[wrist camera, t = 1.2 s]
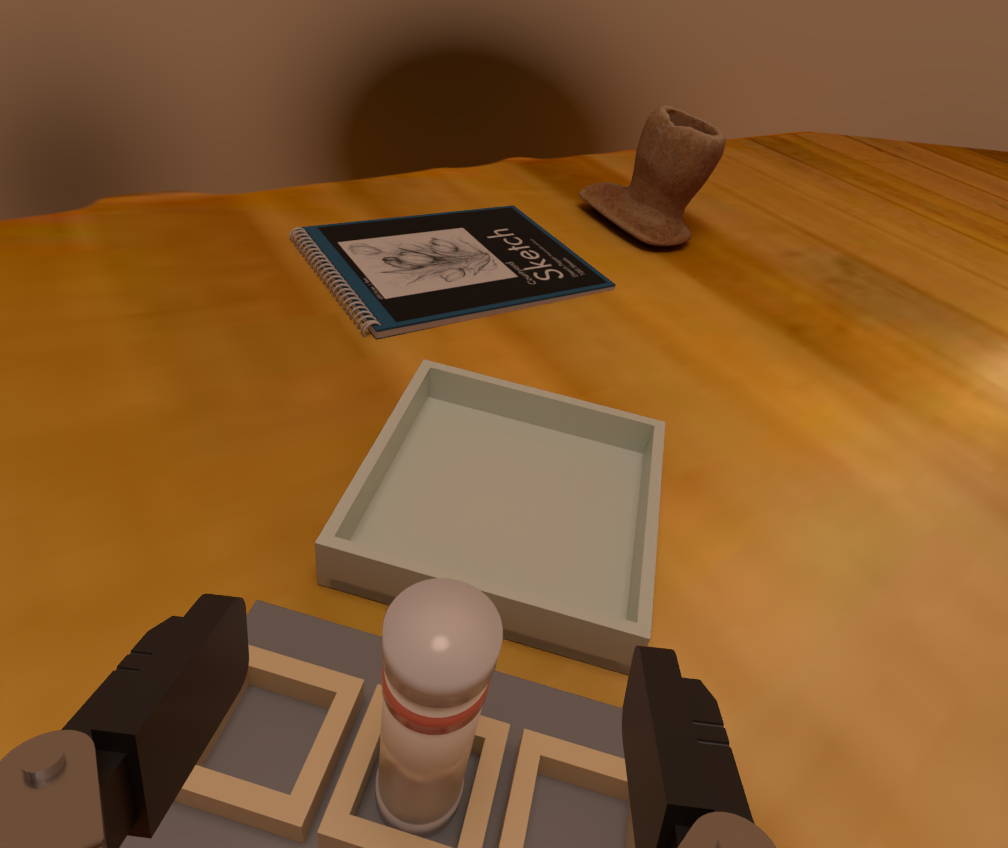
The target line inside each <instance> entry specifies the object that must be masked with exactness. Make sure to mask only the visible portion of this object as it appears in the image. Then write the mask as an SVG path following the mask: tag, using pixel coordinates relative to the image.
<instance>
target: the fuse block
mask: <svg viewBox="0 0 1008 848" xmlns="http://www.w3.org/2000/svg"><path fill="white" fill-rule="evenodd" d="M246 618H247V633H248V647H249V666H248V671H247V675H246V679H245V682H244V684H243V686H242V688H241V690H240V692H239V694H238V695H237V697H236V699H235V700H234V702H233V704H232V705H231V707H230V709H229V710H228V712H227V714H226V715H225V717H224V719H223V720H222V722H221V724H220V725H219V727H218V729H217V730H216V732H215V734H214V735H213V737H212V739H211V740H210V742H209V744H208V745H207V747H206V749H205V750H204V752H203V754H202V755H201V757H200V759H199V760H198V762H197V764H196V765H195V767H194V769H193V770H192V772H191V774H190V775H189V777H188V779H187V780H186V782H185V783H184V785H183V787H182V788H181V790H180V792H179V793H178V795H177V797H176V798H175V800H174V802H173V803H172V805H171V807H170V808H169V810H168V812H167V813H166V815H165V817H164V818H163V820H162V822H161V823H160V825H159V827H158V828H157V830H156V832H155V833H154V835H153V837H152V838H143V837H136V836H128V835H127V837H126V838H125V840H124V841H123V843H122V844H121V846H120V848H635V841H634V832H633V824H632V816H631V807H630V799H629V791H628V782H627V774H626V765H625V757H624V749H623V740H622V711H623V709H622V708H619V707H616V706H612V705H609V704H605V703H602V702H599V701H595V700H592V699H589V698H585V697H582V696H579V695H575V694H572V693H568V692H565V691H562V690H558V689H555V688H552V687H548V686H545V685H542V684H538V683H535V682H531V681H528V680H525V679H521V678H518V677H515V676H511V675H508V674H505V673H501V672H498V671H494V673H493V676H492V678H491V680H490V684H489V688H488V692H487V696H486V699H485V702H484V704H483V706H482V710H481V713H480V717H479V721H478V725H477V729H476V733H475V737H474V740H473V744H472V748H471V752H470V756H469V760H468V764H467V767H466V771H465V775H464V787H463V792H462V795H461V799H460V803H459V806H458V809H457V812H456V814H455V816H454V817H453V819H452V820H451V822H450V823H449V824H448V825H447V826H446V827H445V828H444V829H443V830H442V831H440V832H439V833H437V834H435V835H433V836H431V837H428V838H422V837H418V836H415V835H412V834H409V833H406V832H403V831H400V830H397V829H394V828H391V827H387V826H386V825H385V824H384V822H383V821H382V819H381V817H380V815H379V813H378V810H377V806H376V800H375V791H376V775H377V770H378V767H379V755H380V735H381V716H382V696H383V694H382V668H383V664H382V637H380V636H377V635H373V634H370V633H367V632H363V631H360V630H357V629H353V628H350V627H346V626H343V625H340V624H336V623H333V622H330V621H326V620H323V619H320V618H316V617H313V616H310V615H306V614H303V613H299V612H296V611H293V610H289V609H286V608H283V607H279V606H276V605H273V604H269V603H266V602H262V601H259V600H256V602H255V603H254V605H253V607H252V608H251V610H250V611H249V613H248V615H247V616H246Z"/></svg>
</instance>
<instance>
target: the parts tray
mask: <svg viewBox="0 0 1008 848" xmlns="http://www.w3.org/2000/svg"><path fill="white" fill-rule="evenodd" d="M664 432H665V422H663V421H660V420H656V419H652V418H648V417H644V416H640V415H636V414H633V413H629V412H625V411H621V410H617V409H613V408H609V407H606V406H602V405H598V404H594V403H590V402H586V401H582V400H579V399H575V398H571V397H567V396H563V395H559V394H556V393H552V392H548V391H544V390H540V389H536V388H532V387H529V386H525V385H521V384H517V383H513V382H509V381H505V380H502V379H498V378H494V377H490V376H486V375H482V374H478V373H475V372H471V371H467V370H463V369H459V368H455V367H451V366H448V365H444V364H440V363H436V362H432V361H428V360H425V359H424V360H423V362H422V363H421V365H420V367H419V368H418V370H417V372H416V373H415V375H414V377H413V379H412V380H411V382H410V384H409V385H408V387H407V389H406V390H405V392H404V394H403V395H402V397H401V399H400V400H399V402H398V404H397V405H396V407H395V409H394V411H393V412H392V414H391V416H390V417H389V419H388V421H387V422H386V424H385V426H384V427H383V429H382V431H381V432H380V434H379V436H378V437H377V439H376V441H375V443H374V444H373V446H372V448H371V449H370V451H369V453H368V454H367V456H366V458H365V459H364V461H363V463H362V464H361V466H360V468H359V469H358V471H357V473H356V475H355V476H354V478H353V480H352V481H351V483H350V485H349V486H348V488H347V490H346V491H345V493H344V495H343V496H342V498H341V500H340V501H339V503H338V505H337V507H336V508H335V510H334V512H333V513H332V515H331V517H330V518H329V520H328V522H327V523H326V525H325V527H324V528H323V530H322V532H321V533H320V535H319V537H318V539H317V540H316V542H315V551H316V566H317V581H318V584H319V585H322V586H326V587H329V588H333V589H336V590H340V591H343V592H346V593H350V594H353V595H357V596H360V597H363V598H367V599H370V600H374V601H377V602H380V603H384V604H387V605H391V603H392V602H393V600H394V599H395V598H396V597H397V596H398V595H399V594H400V593H401V592H402V591H404V590H405V589H407V588H408V587H410V586H411V585H414V584H416V583H418V582H421V581H424V580H429V579H435V578H448V579H455V580H459V581H462V582H465V583H468V584H470V585H472V586H474V587H476V588H477V589H479V590H480V591H482V592H483V593H484V594H485V595H486V596H487V597H488V598H489V599H490V600H491V601H492V603H493V604H494V605H495V607H496V609H497V611H498V613H499V615H500V618H501V622H502V627H503V639H507V640H510V641H514V642H517V643H520V644H524V645H527V646H531V647H534V648H538V649H541V650H544V651H548V652H551V653H555V654H558V655H561V656H565V657H568V658H572V659H575V660H579V661H582V662H585V663H589V664H592V665H596V666H599V667H602V668H606V669H609V670H613V671H616V672H619V673H623V674H626V675H629V673H630V667H631V662H632V657H633V653H634V649H635V647H636V646H637V645H638V646H647V645H648V643H649V641H650V638H651V623H652V609H653V594H654V579H655V564H656V550H657V535H658V520H659V506H660V491H661V476H662V462H663V447H664Z"/></svg>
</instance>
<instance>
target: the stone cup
mask: <svg viewBox="0 0 1008 848" xmlns="http://www.w3.org/2000/svg"><path fill="white" fill-rule="evenodd" d="M724 147H725V136H724V134H723V133H722V132H721V130H719V129H718V128H717V127H715V126H714V125H712V124H710V123H708V122H706V121H705V120H702V119H700V118H698V117H696V116H694V115H692V114H687V113H686V112H684V111H682V110H680V109H677V108H674V107H670V106H661V107H659V108H657V109H656V110H654V111H653V112H652V113H651V115H650V116H649V117H648V119H647V121H646V123H645V125H644V128H643V130H642V133H641V137H640V140H639V143H638V147H637V151H636V158H635V165H634V171H633V176H632V181H631V184H630V186H629V187H626V186H622V185H619V184H615V183H609V182H604V183H596V184H592V185H589V186H586V187H584V188H583V189H582V190H581V191H580V193H579V196H580V197H581V198H582V199H583V200H584V201H586V202H587V203H588V204H589V205H590V206H592V207H593V208H594V209H595V210H597V211H598V212H599V213H600V214H602V215H603V216H604V217H606V218H607V219H608V220H610V221H611V222H613V223H614V224H615V225H617V226H618V227H620V228H621V229H622V230H624V231H625V232H627V233H629V234H630V235H632V236H633V237H635V238H636V239H638V240H640V241H642V242H644V243H646V244H650V245H654V246H674V245H679V244H683V243H684V242H686V241H687V240H689V239H690V238H691V232H690V231H689V229H688V228H687V226H686V225H685V223H684V222H683V213H684V210H685V207H686V206H687V205H688V203H689V202H690V201H691V199H692V198H693V197H694V196H695V194H696V193H697V192H698V191H699V190H700V189H701V187H702V186H703V185H704V183H705V182H706V181H707V179H708V178H709V176H710V175H711V173H712V172H713V170H714V169H715V167H716V166H717V164H718V162H719V160H720V159H721V157H722V154H723V151H724Z"/></svg>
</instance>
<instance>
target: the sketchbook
mask: <svg viewBox="0 0 1008 848" xmlns="http://www.w3.org/2000/svg"><path fill="white" fill-rule="evenodd" d="M295 230H296V231H295ZM294 231H295V232H294ZM293 232H294V233H293ZM292 233H293V234H292ZM295 234H296V237H295V239H294V240H293V237H294V235H295ZM297 238H298V239H299V240H298V242H297V244H296V240H297ZM290 240H291V241H292V242H294V245H295V246H297V249H298V250H299V251H300V253H302V254H303V257H305V259H306V261H308V263H309V265H311V267H312V268H314V271H315V272H317V275H318V276H320V279H321V280H323V283H324V284H326V287H327V288H329V289H330V292H331V293H333V296H334V297H336V300H337V301H339V304H340V305H341V306H343V309H344V310H346V313H347V315H350V319H353V317H352V314H353V312H355V313H356V315H355V316H354V324H357V328H358V329H361V333H362V334H363V336H364V337H367V336H366V334H365V330H366V328H367V329H368V330H369V331H370V332H371V334H372V335H373V336H374V338H375V339H381V338H386V337H391V336H395V335H400V334H405V333H410V332H415V331H419V330H424V329H428V328H433V327H438V326H443V325H448V324H452V323H457V322H462V321H467V320H472V319H477V318H481V317H486V316H491V315H496V314H500V313H505V312H510V311H515V310H519V309H524V308H529V307H534V306H539V305H543V304H548V303H553V302H558V301H562V300H567V299H572V298H577V297H581V296H586V295H591V294H596V293H601V292H605V291H610V290H614V289H615V284H614V283H613V282H612V281H610V280H609V279H608V278H606V277H605V276H604V275H602V274H601V273H600V272H599V271H597V270H596V269H595V268H593V267H592V266H591V265H590V264H588V263H587V262H586V261H584V260H583V259H582V258H581V257H579V256H578V255H577V254H575V253H574V252H573V251H572V250H570V249H569V248H568V247H566V246H565V245H564V244H562V243H561V242H560V241H559V240H557V239H556V238H555V237H553V236H552V235H551V234H550V233H548V232H547V231H546V230H544V229H543V228H542V227H541V226H539V225H538V224H537V223H535V222H534V221H533V220H531V219H530V218H529V217H528V216H526V215H525V214H524V213H522V212H521V211H520V210H519V209H517V208H516V207H515V206H504V207H494V208H484V209H474V210H465V211H455V212H445V213H435V214H425V215H416V216H406V217H396V218H386V219H377V220H367V221H357V222H347V223H338V224H328V225H318V226H308V227H297V228H294V229H293V230H292V231H291V232H290ZM300 242H301V243H302V244H301V245H300V247H299V243H300ZM302 246H304V248H303V251H302V250H301V249H302ZM305 250H307V252H306V254H304V251H305ZM308 253H309V254H310V256H309V257H308V259H307V255H308ZM311 257H313V260H312V261H311V262H310V258H311ZM314 261H316V263H315V265H314V266H313V262H314ZM317 265H319V266H320V267H318V269H317V270H316V266H317ZM320 269H322V271H321V274H319V270H320ZM323 273H325V274H326V275H325V276H324V277H323V278H322V274H323ZM326 277H328V278H329V279H328V280H327V282H325V279H326ZM329 281H331V282H332V283H331V285H330V287H329V285H328V284H329ZM333 285H334V286H335V288H334V290H333V291H332V286H333ZM336 289H337V290H338V291H339V292H338V293H337V294H336V295H335V291H336ZM339 294H341V295H342V297H341V298H340V300H339V299H338V296H339ZM343 298H344V299H345V301H344V303H343V304H342V299H343ZM346 303H348V304H349V306H348V307H347V309H346V308H345V304H346ZM350 307H351V308H352V309H353V310H352V311H351V312H350V313H349V308H350ZM357 317H359V318H360V319H359V321H358V322H357V323H356V318H357ZM361 321H362V322H363V323H364V324H363V325H362V327H361V328H360V325H359V324H360V322H361Z"/></svg>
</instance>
